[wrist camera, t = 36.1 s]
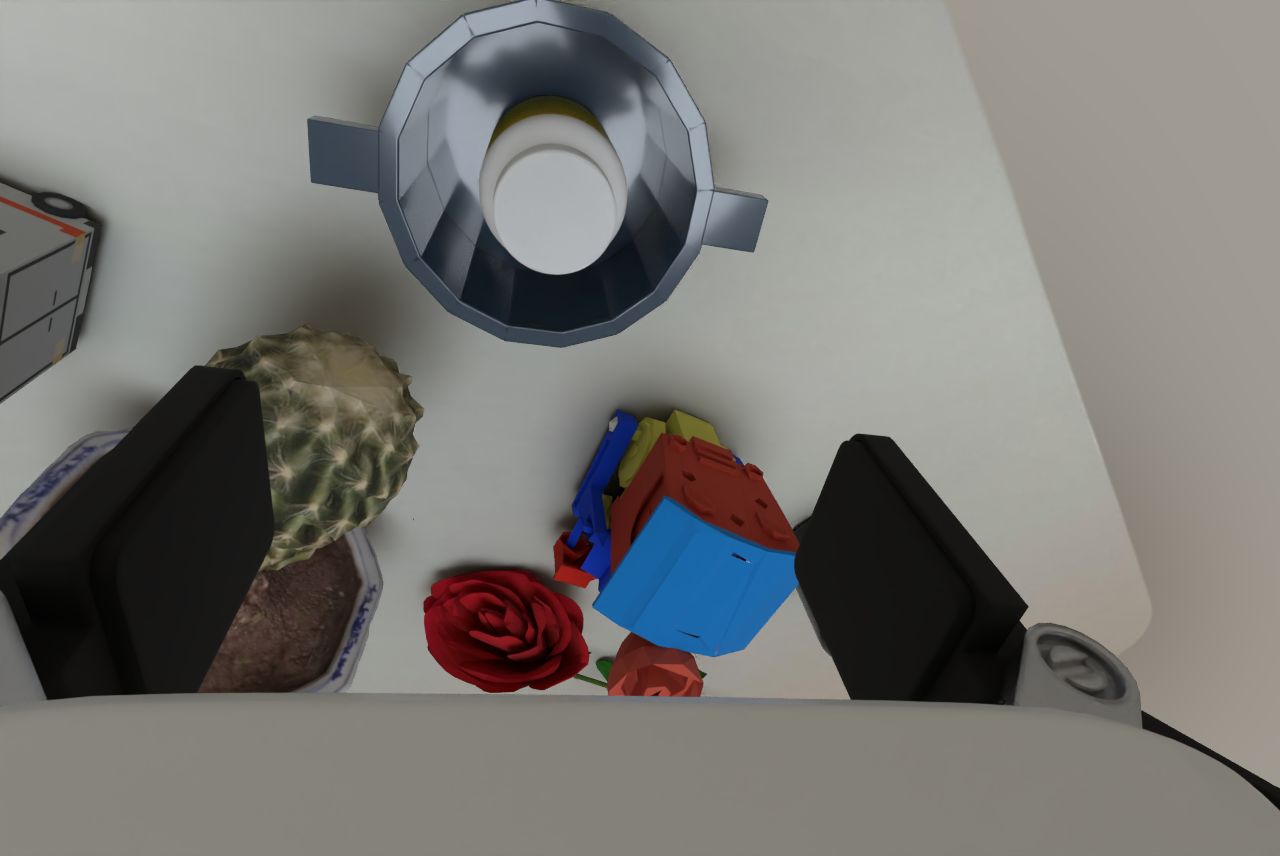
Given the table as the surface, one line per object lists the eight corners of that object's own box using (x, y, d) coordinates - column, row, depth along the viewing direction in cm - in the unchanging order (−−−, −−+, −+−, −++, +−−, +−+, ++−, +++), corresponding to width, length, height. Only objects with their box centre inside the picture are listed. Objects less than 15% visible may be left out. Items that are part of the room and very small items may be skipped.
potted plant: (222, 849, 39) (502, 670, 23) (-151, 742, 32) (-121, 378, 16) (344, 595, 52) (575, 371, 36) (99, 481, 45) (252, 140, 29)
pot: (351, -43, 29) (289, -60, 22) (756, 48, 33) (814, 58, 26) (358, 257, 36) (313, 318, 29) (693, 304, 40) (726, 368, 33)
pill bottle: (463, 149, 34) (433, 203, 24) (556, 62, 32) (562, 85, 23) (547, 243, 37) (548, 323, 27) (635, 168, 35) (668, 226, 26)
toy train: (761, 428, 46) (845, 589, 33) (650, 586, 52) (685, 771, 40) (629, 373, 42) (667, 529, 29) (528, 550, 49) (524, 739, 36)
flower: (779, 810, 50) (419, 652, 40) (700, 808, 57) (376, 673, 47) (790, 690, 56) (477, 524, 46) (717, 701, 63) (430, 560, 52)
